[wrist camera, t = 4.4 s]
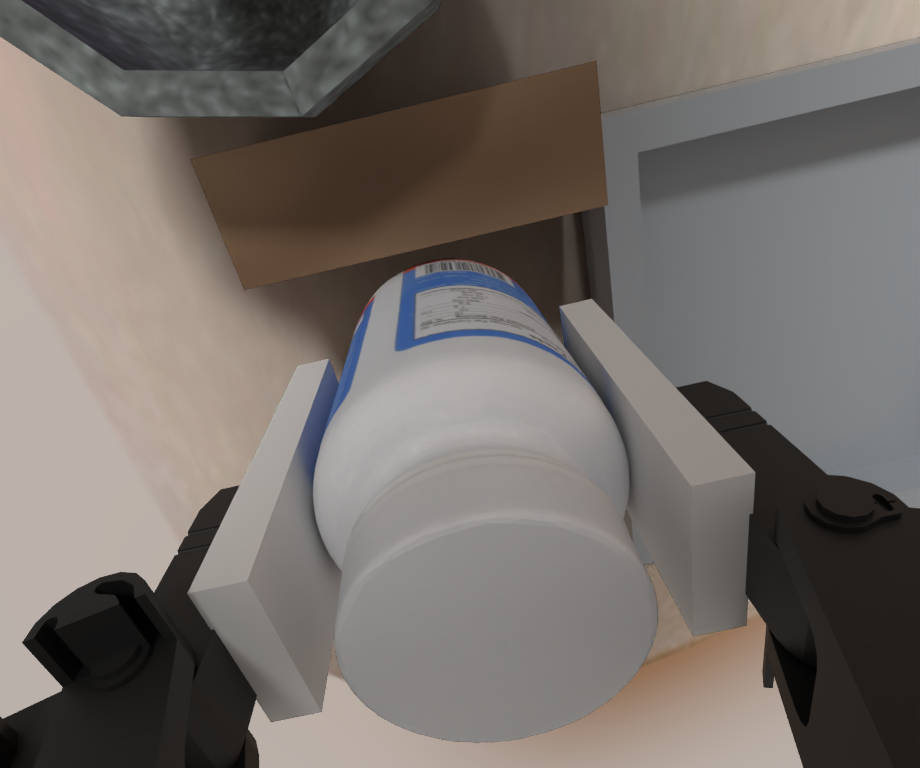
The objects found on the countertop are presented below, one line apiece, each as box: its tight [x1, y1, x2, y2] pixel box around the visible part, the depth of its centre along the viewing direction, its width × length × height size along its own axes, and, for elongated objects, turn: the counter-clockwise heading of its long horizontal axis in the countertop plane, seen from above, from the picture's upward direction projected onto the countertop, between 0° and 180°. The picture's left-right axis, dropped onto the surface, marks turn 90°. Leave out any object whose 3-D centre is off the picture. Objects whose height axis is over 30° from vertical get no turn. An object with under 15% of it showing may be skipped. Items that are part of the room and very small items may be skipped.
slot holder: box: [190, 61, 627, 512], centre depth 16 cm, size 12×9×4 cm
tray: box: [581, 37, 920, 565], centre depth 18 cm, size 16×14×2 cm
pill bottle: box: [313, 259, 658, 743], centre depth 11 cm, size 6×5×10 cm
